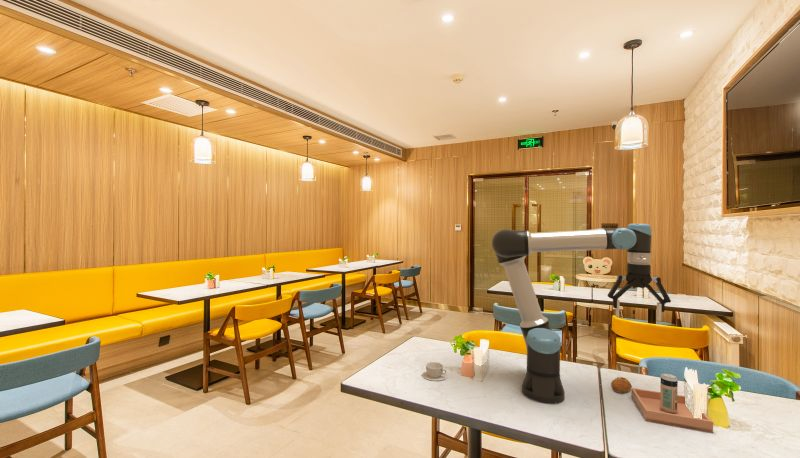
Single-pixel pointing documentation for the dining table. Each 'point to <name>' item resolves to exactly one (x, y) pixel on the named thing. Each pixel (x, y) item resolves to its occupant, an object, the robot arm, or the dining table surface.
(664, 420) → the terracotta dish
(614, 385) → the pastry
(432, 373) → the teacup
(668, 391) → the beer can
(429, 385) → the dining table surface
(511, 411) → the dining table surface
